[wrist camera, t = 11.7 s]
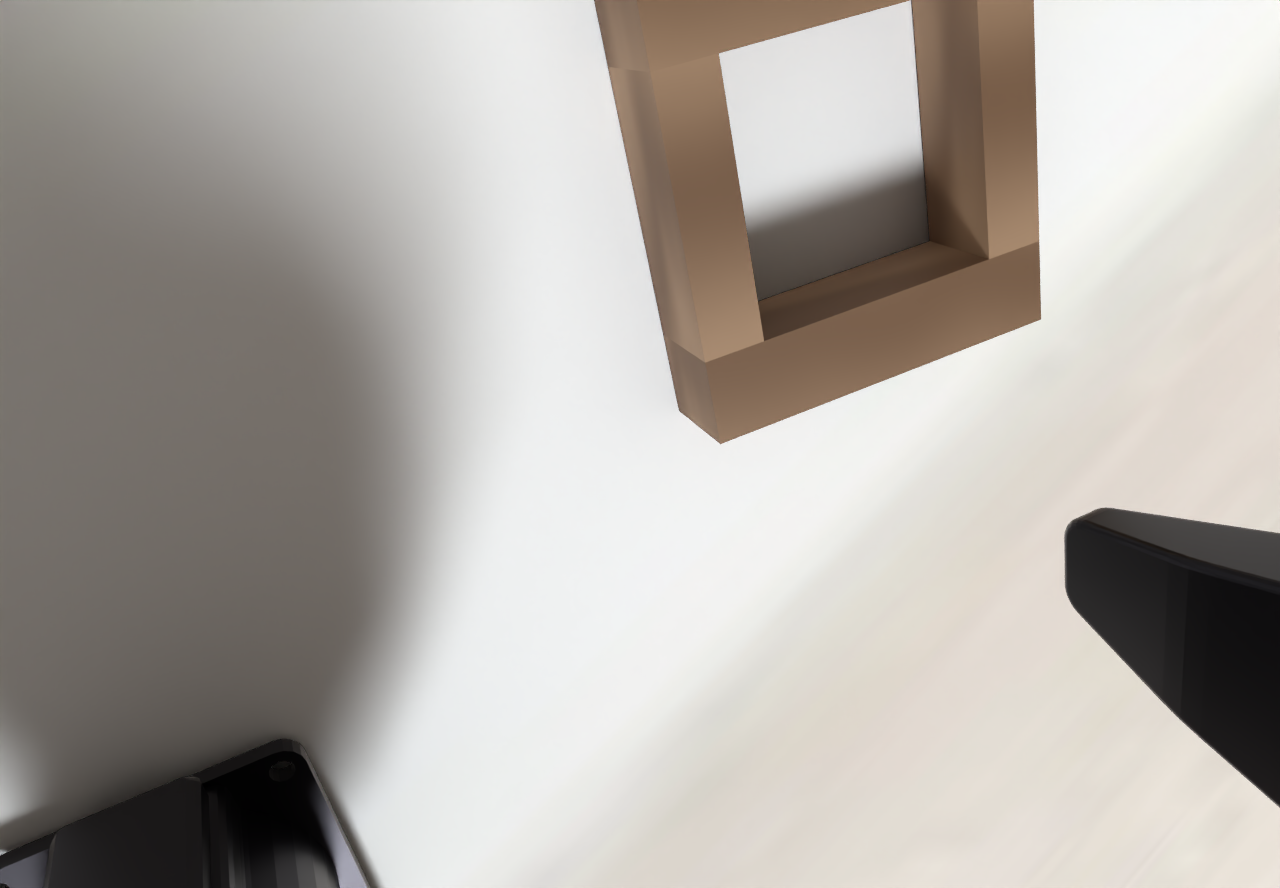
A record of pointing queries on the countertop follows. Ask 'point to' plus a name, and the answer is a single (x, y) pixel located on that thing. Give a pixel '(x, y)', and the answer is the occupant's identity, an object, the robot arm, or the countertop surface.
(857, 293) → the wooden slotted board
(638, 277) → the countertop surface
